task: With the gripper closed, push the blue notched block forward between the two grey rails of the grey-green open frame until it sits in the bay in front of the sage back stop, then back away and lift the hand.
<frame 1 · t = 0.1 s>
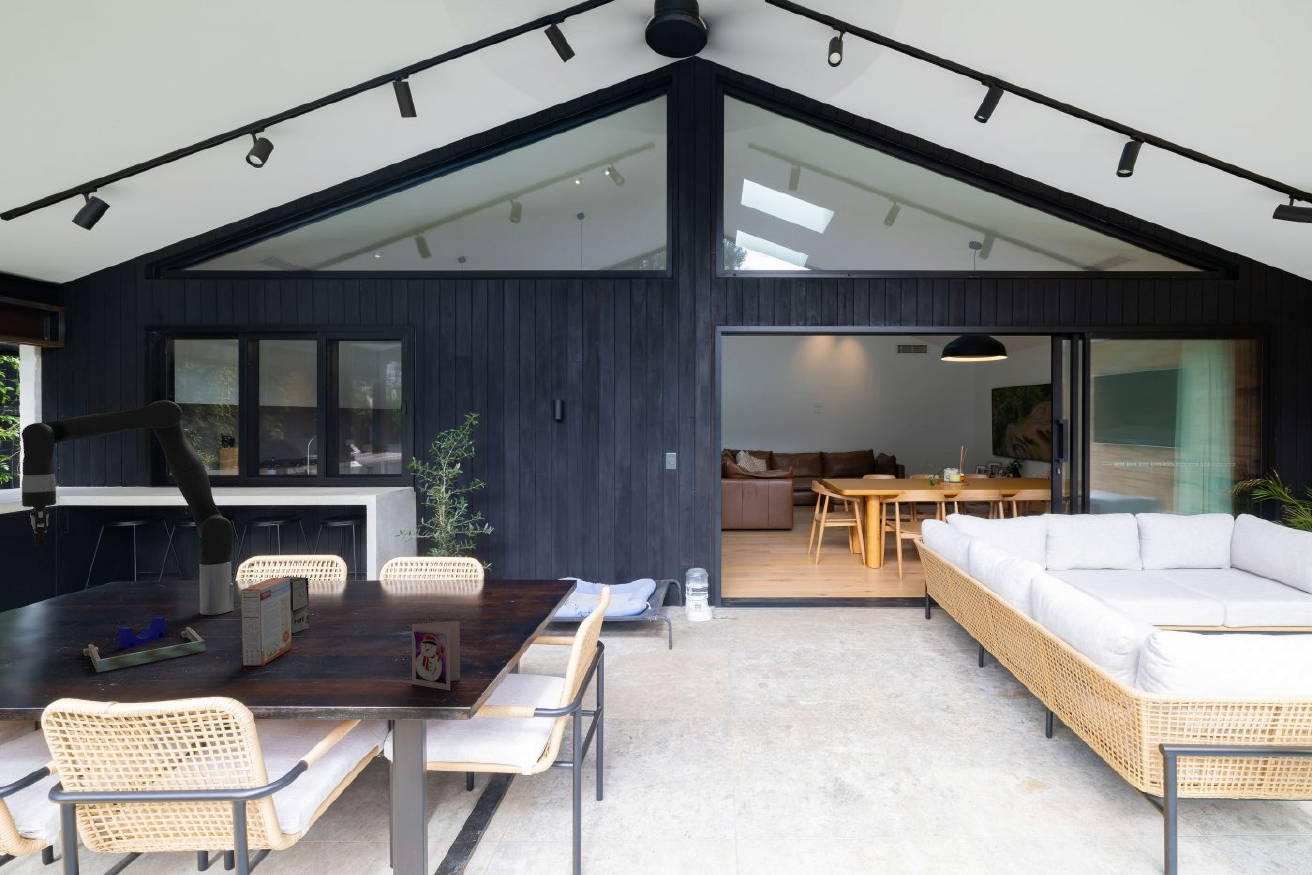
hand: (40, 543, 202), 29 cm above the table, tool pointing down, fingers open, 8 cm apart
grey-green open frame: (147, 652, 192), on the table
cracker box: (267, 658, 188), on the table
coffee box: (290, 629, 214), on the table
blue notched block: (140, 643, 202), on the table
greeting card: (438, 683, 169), on the table
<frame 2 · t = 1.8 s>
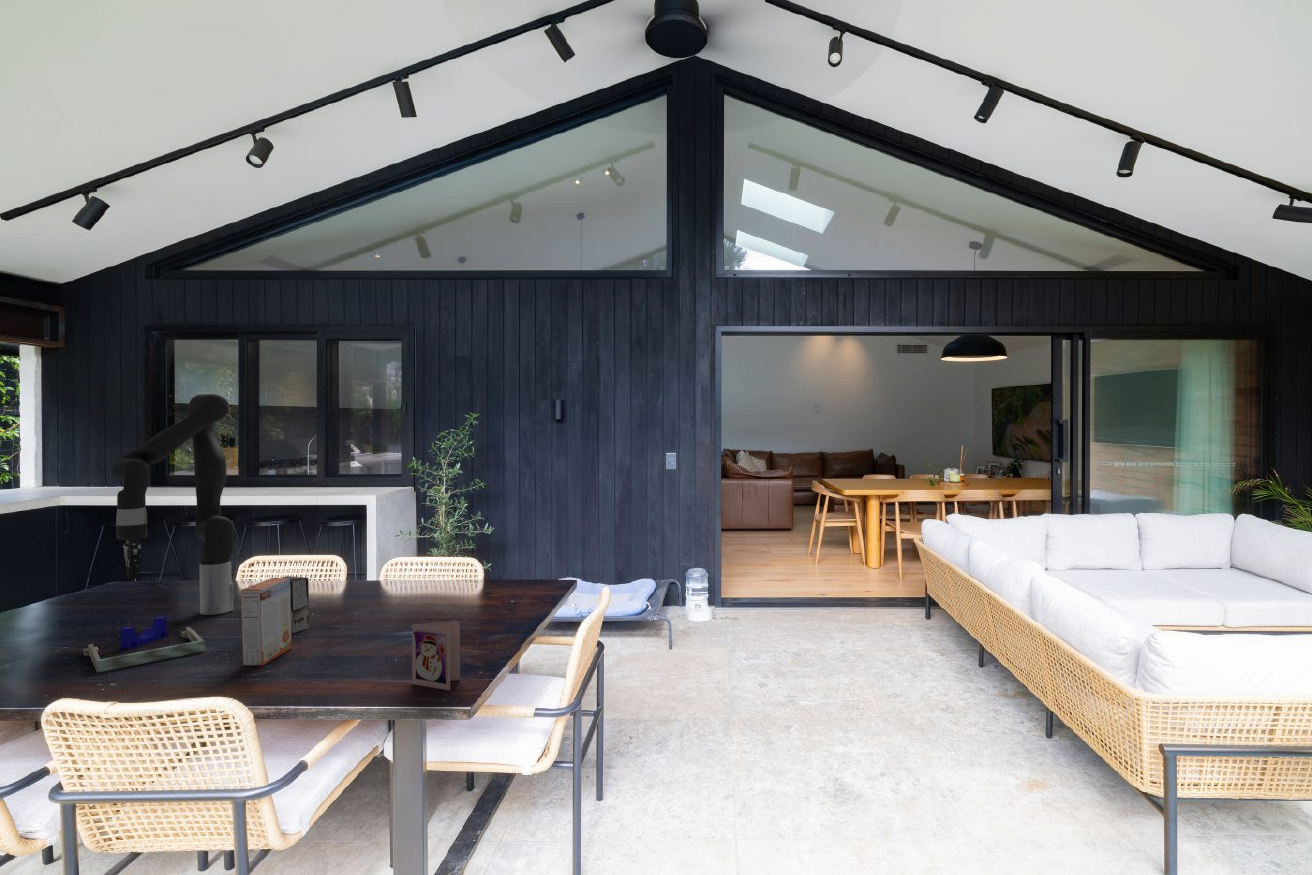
hand: (132, 577, 211), 17 cm above the table, tool pointing down, fingers closed
nothing on the table moved.
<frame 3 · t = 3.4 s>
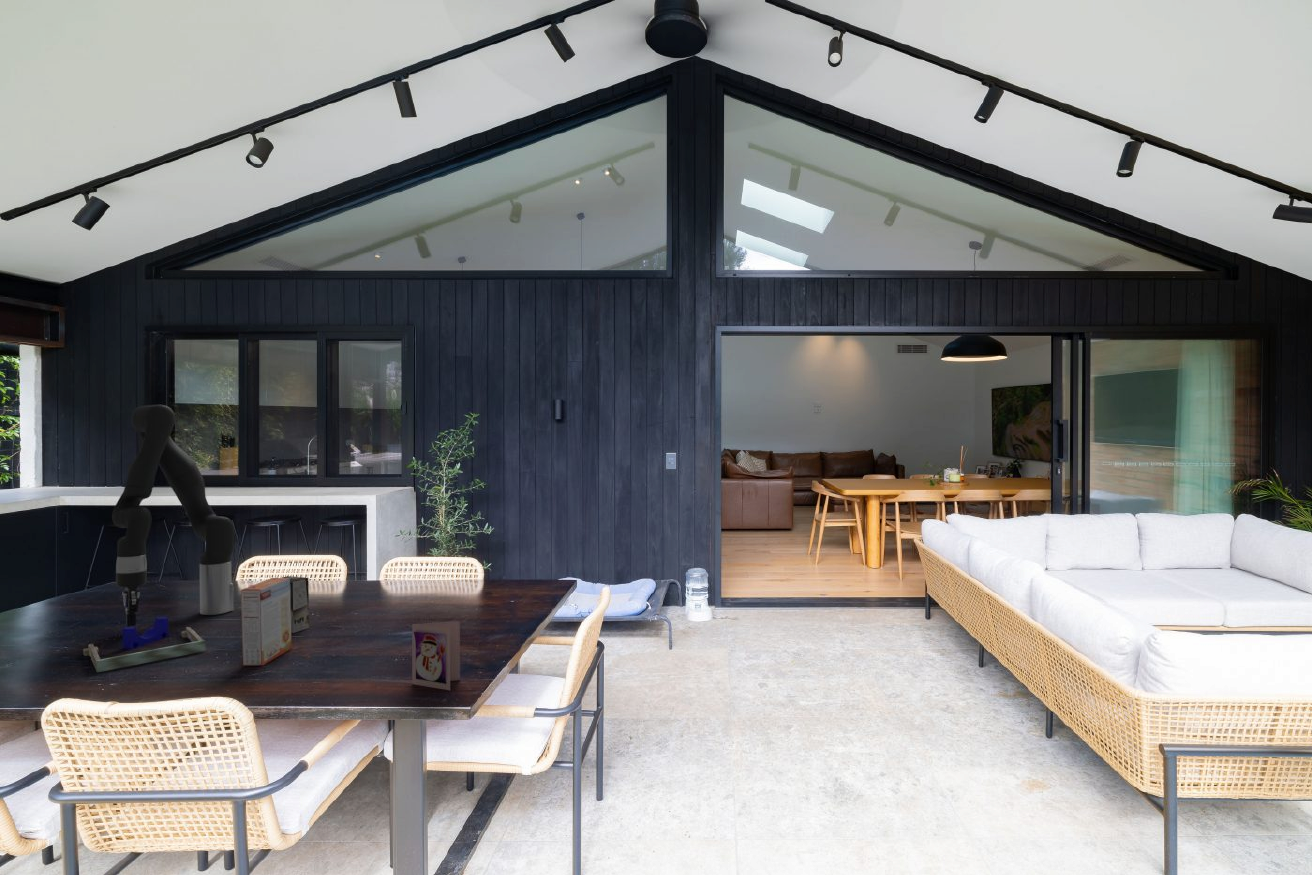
hand: (131, 625, 210), 2 cm above the table, tool pointing down, fingers closed
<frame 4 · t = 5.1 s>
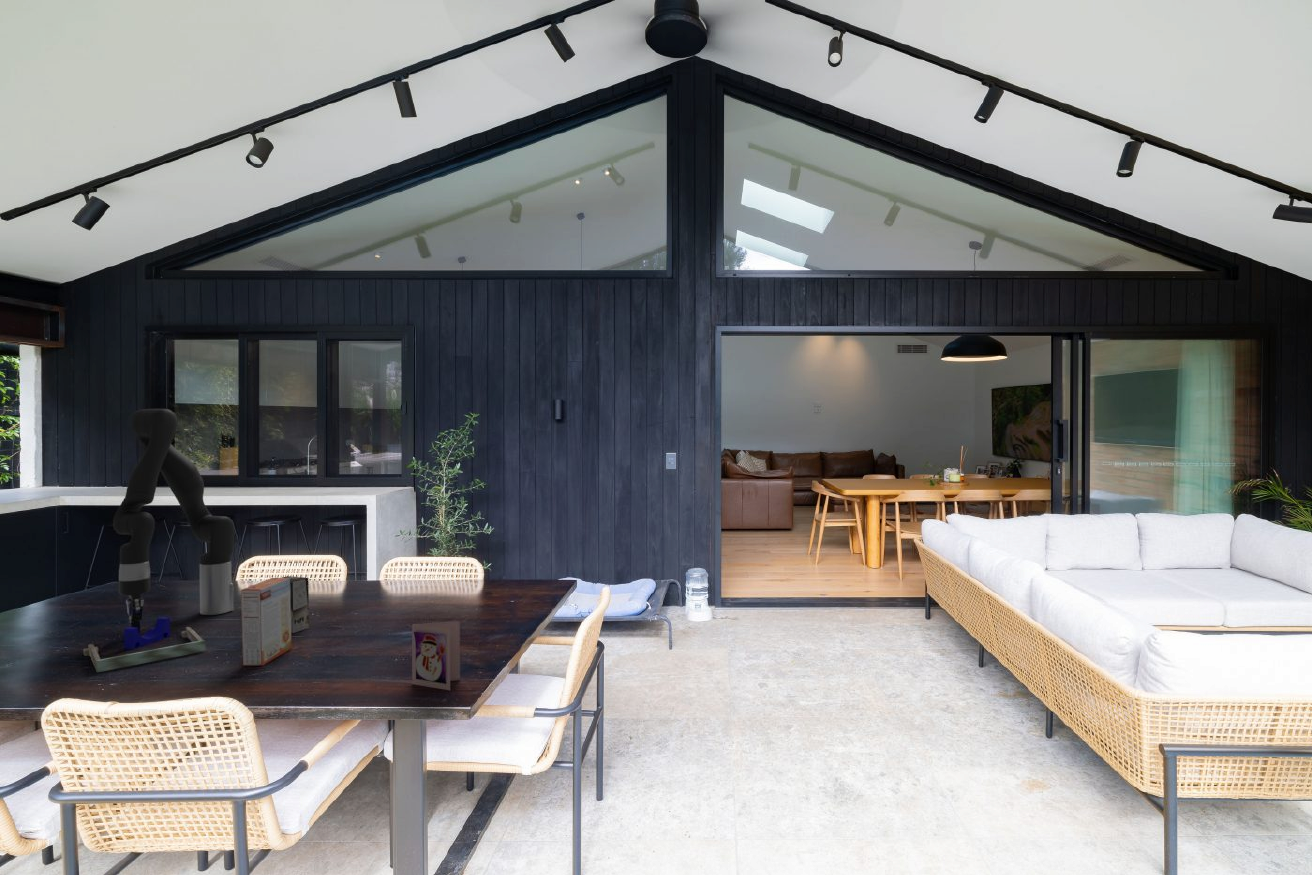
hand: (135, 633, 206), 1 cm above the table, tool pointing down, fingers closed
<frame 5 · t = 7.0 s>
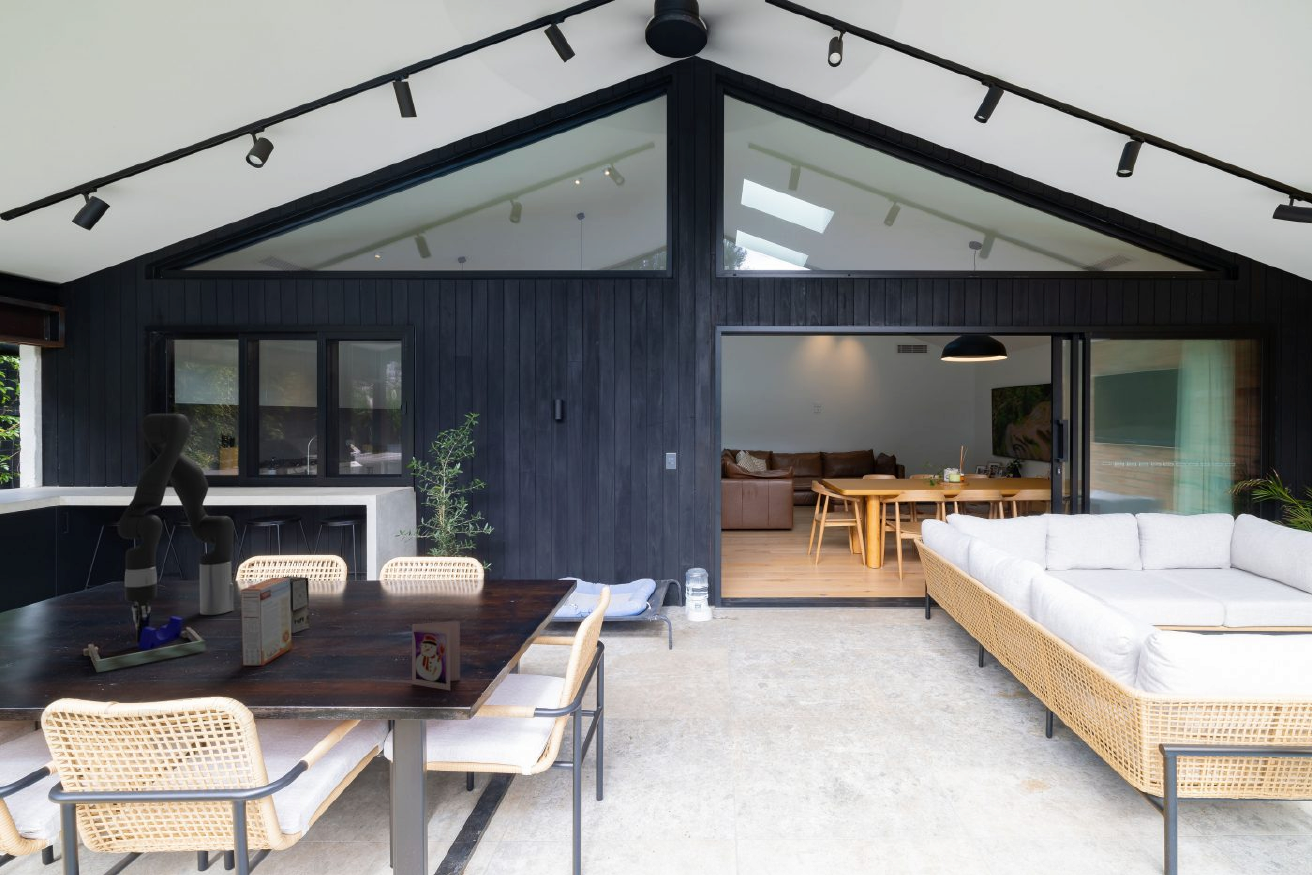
hand: (141, 641, 198), 1 cm above the table, tool pointing down, fingers closed
blue notched block: (156, 642, 200), on the table, touching hand
everything else where it was.
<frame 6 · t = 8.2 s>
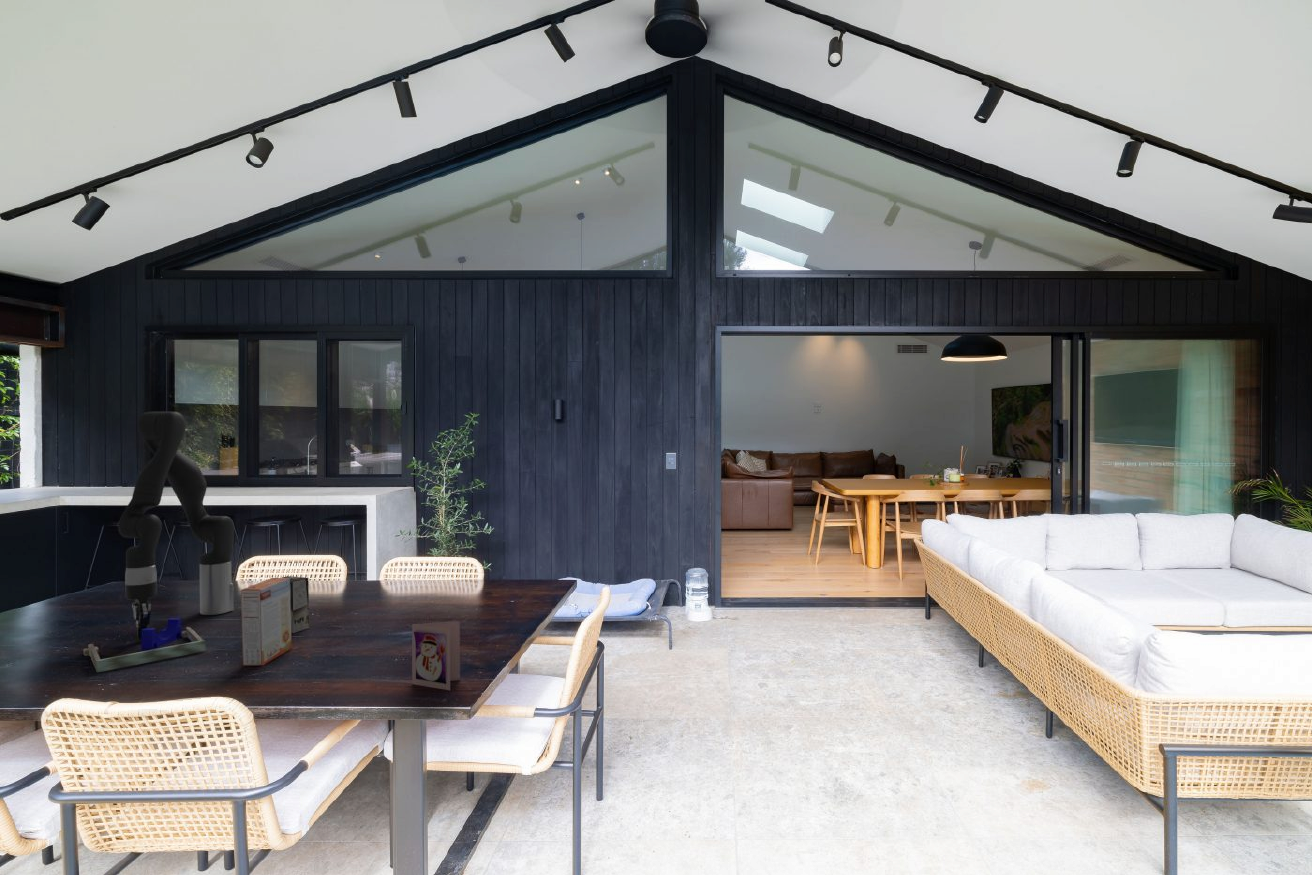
hand: (142, 638, 202), 1 cm above the table, tool pointing down, fingers closed
blue notched block: (159, 644, 200), on the table
everything else where it was.
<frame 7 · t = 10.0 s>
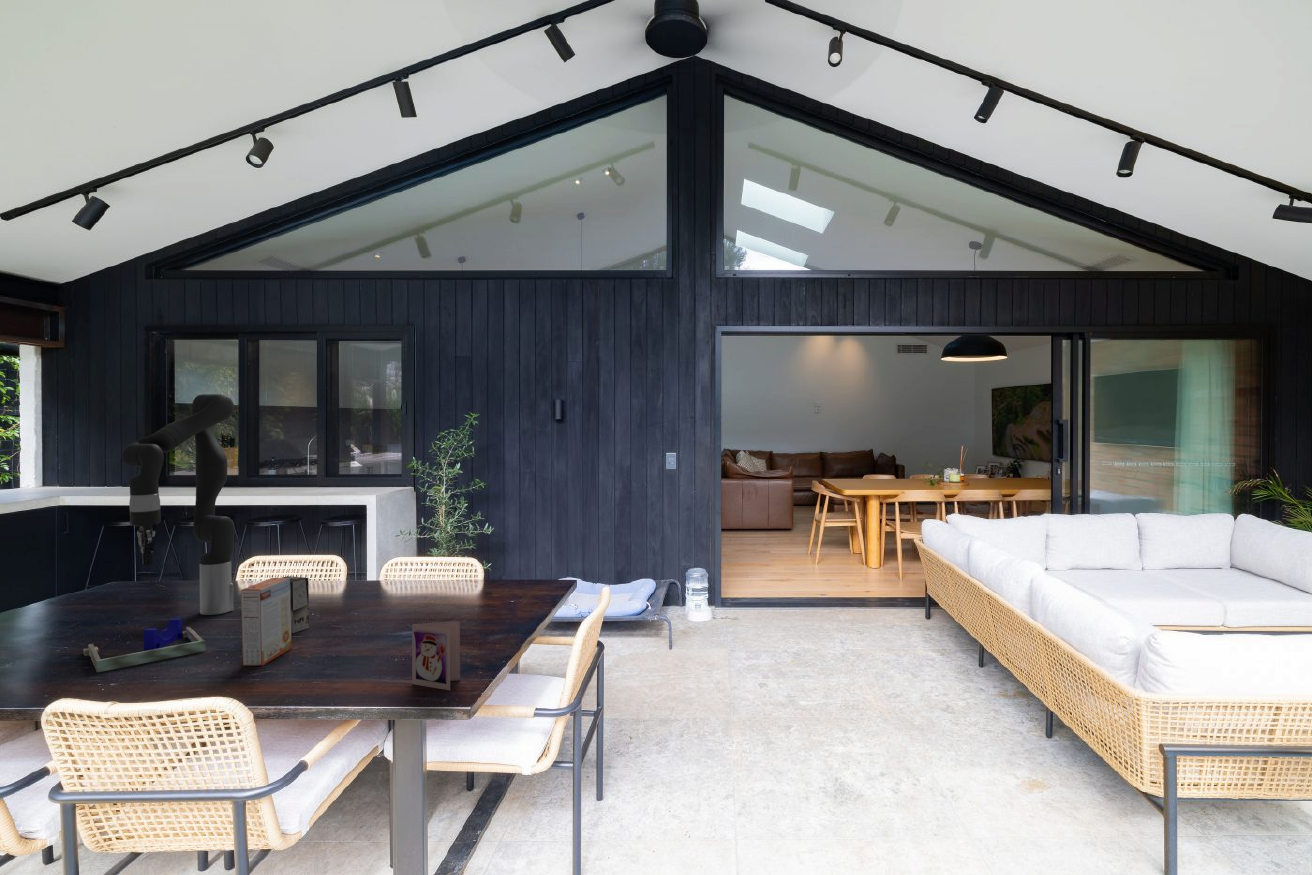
hand: (147, 564, 208), 22 cm above the table, tool pointing down, fingers closed
nothing on the table moved.
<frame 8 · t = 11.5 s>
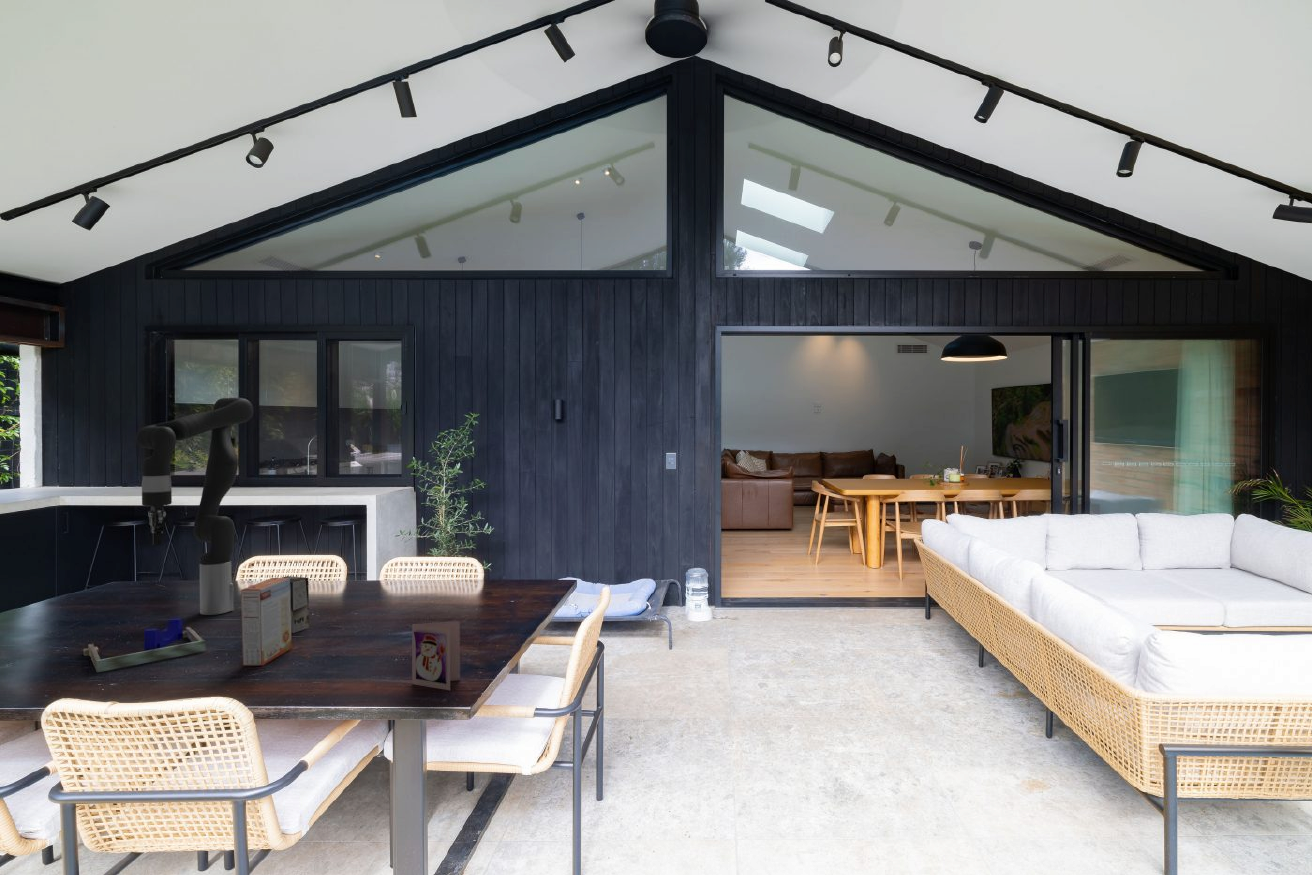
hand: (157, 544, 212), 27 cm above the table, tool pointing down, fingers closed
nothing on the table moved.
at the end: blue notched block inside the target area on the grey-green open frame (8.4 cm from its centre), point 0.0 cm above the grey-green open frame's base; blue notched block tilted 0°; blue notched block moved 8.1 cm from its start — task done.
